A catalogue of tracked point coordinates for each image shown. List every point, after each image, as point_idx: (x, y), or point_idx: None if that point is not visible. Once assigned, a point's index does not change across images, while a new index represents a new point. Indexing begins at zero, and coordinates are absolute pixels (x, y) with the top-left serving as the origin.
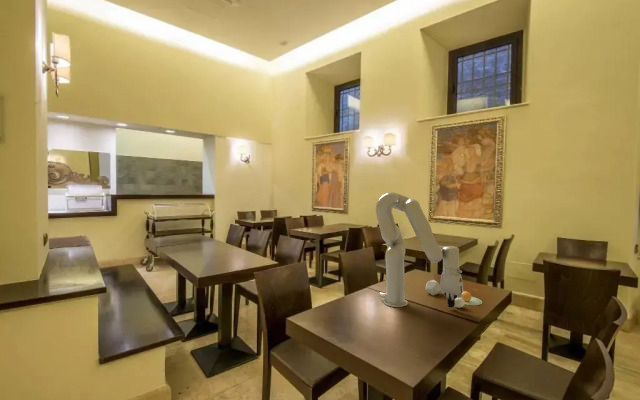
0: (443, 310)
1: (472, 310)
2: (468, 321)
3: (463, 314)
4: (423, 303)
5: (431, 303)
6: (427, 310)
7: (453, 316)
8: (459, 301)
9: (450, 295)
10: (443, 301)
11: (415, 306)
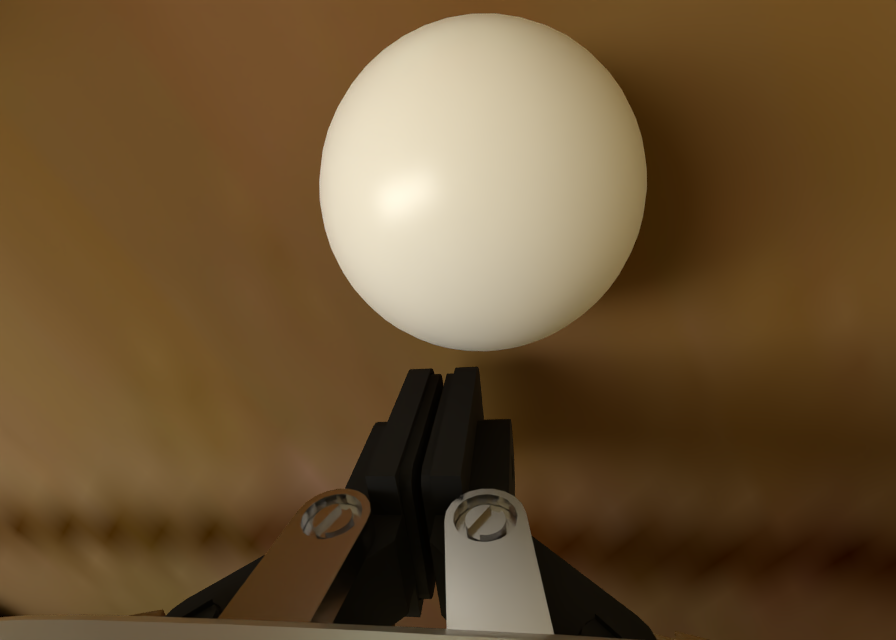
0: None
1: (804, 83)
2: (892, 609)
3: (724, 432)
4: (57, 473)
5: (97, 389)
6: None
7: (634, 592)
8: (568, 324)
9: (346, 577)
10: (87, 113)
11: None
